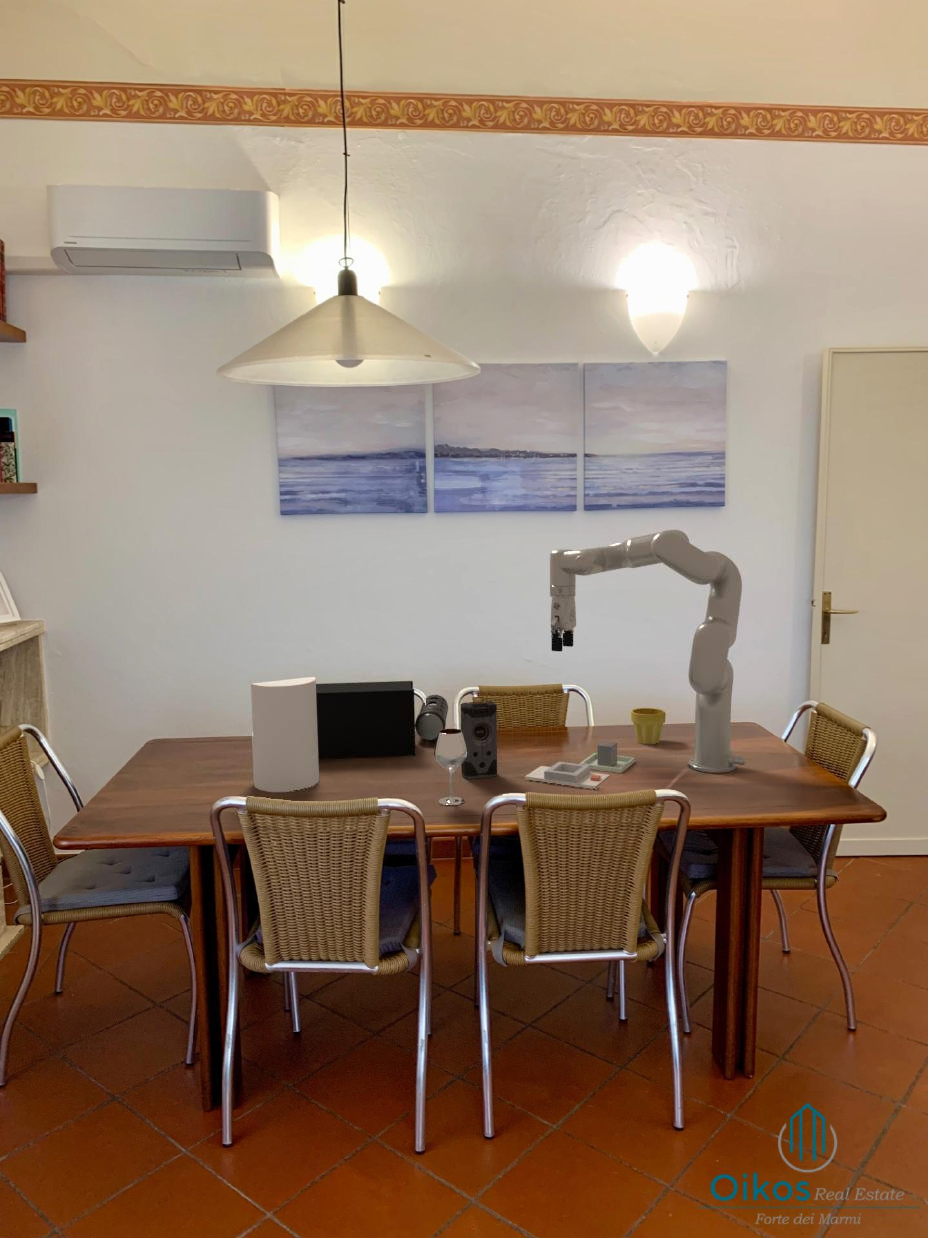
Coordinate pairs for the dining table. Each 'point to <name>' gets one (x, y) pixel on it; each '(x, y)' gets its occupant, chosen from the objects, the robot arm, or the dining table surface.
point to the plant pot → (648, 724)
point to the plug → (607, 754)
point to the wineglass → (450, 757)
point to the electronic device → (479, 739)
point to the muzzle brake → (432, 717)
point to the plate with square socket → (567, 775)
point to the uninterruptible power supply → (365, 719)
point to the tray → (618, 768)
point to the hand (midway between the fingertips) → (562, 648)
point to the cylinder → (285, 734)
